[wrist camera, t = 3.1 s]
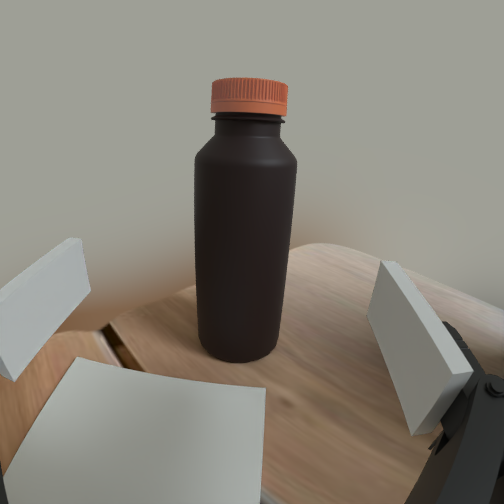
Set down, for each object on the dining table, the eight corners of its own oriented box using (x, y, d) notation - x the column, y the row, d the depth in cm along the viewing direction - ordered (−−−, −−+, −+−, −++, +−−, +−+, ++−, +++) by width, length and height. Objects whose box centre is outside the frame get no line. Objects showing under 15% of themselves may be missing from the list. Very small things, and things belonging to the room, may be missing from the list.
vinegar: (187, 325, 27) (184, 85, 19) (252, 308, 30) (266, 91, 22) (219, 375, 21) (224, 70, 13) (293, 348, 25) (324, 87, 17)
